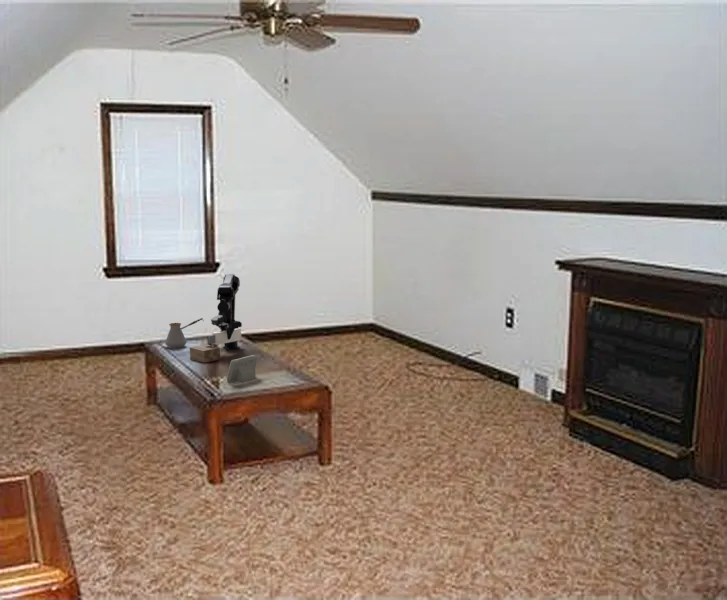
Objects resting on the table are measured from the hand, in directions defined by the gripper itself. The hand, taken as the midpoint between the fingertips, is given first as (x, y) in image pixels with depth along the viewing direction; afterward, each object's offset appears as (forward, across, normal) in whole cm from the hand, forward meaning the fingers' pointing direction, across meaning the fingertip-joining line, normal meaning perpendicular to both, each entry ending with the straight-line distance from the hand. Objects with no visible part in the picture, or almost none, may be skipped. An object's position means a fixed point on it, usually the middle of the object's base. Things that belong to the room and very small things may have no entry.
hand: (226, 338), depth 415 cm
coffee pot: (+9, -34, -3) cm, 35 cm away
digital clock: (+8, +47, -27) cm, 54 cm away
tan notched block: (+8, 0, -14) cm, 16 cm away
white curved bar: (+2, 0, -2) cm, 2 cm away
